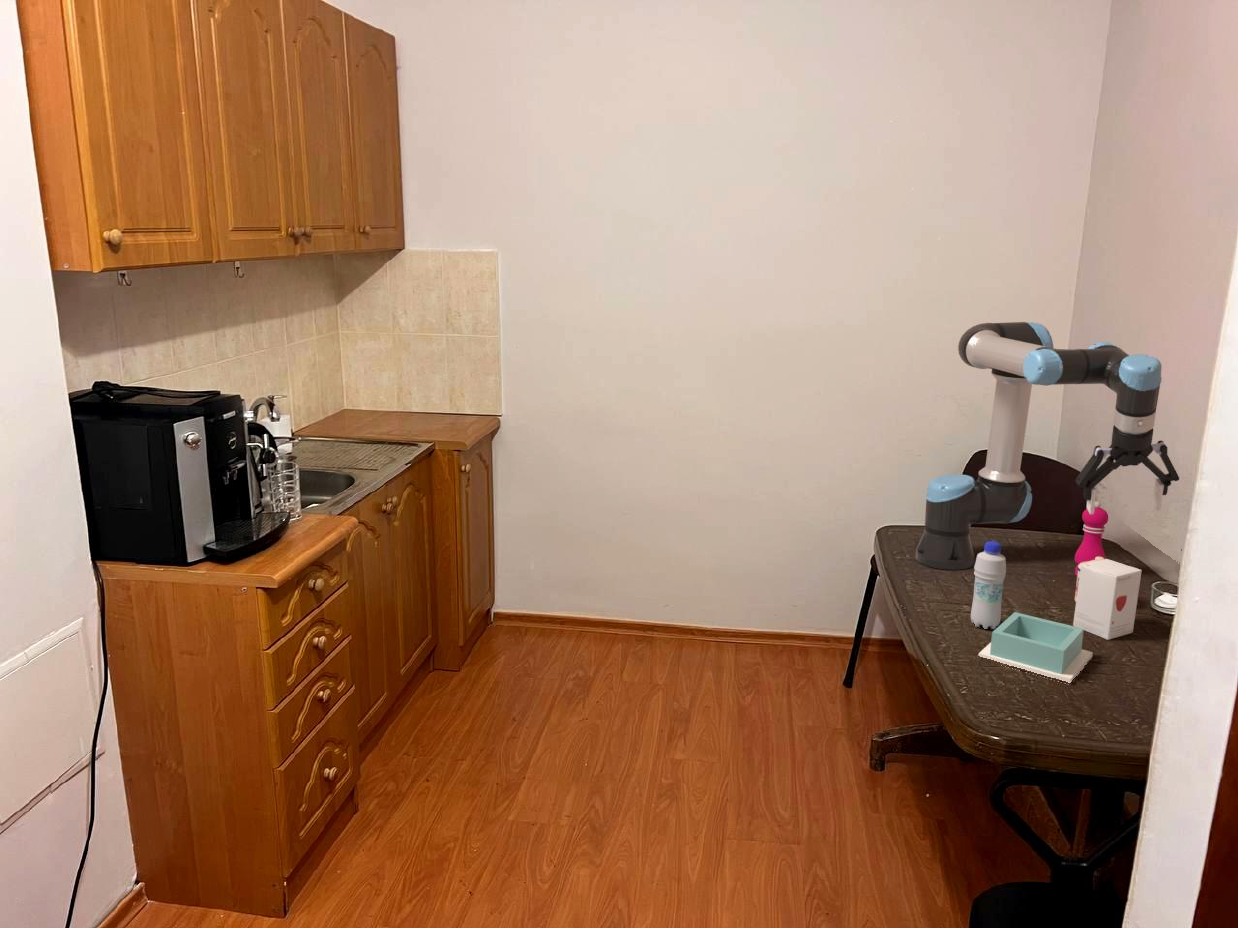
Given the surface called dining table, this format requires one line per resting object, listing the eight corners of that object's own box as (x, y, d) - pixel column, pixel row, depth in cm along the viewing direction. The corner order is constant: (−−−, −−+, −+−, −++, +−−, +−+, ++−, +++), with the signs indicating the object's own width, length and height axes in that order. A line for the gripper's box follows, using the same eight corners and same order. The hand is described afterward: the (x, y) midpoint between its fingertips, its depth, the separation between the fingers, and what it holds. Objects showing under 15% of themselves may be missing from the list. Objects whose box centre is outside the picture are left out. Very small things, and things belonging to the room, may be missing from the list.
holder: (978, 658, 193) (980, 631, 192) (1004, 634, 205) (1006, 608, 204) (1069, 684, 182) (1073, 655, 181) (1092, 657, 194) (1095, 629, 192)
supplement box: (1108, 641, 202) (1116, 576, 198) (1071, 626, 210) (1079, 563, 206) (1134, 633, 206) (1143, 569, 202) (1098, 618, 214) (1105, 557, 210)
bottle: (999, 622, 212) (1008, 538, 207) (1001, 633, 206) (1009, 548, 201) (968, 618, 214) (976, 536, 209) (969, 629, 208) (977, 545, 203)
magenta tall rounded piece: (1097, 570, 244) (1106, 498, 240) (1108, 580, 237) (1117, 505, 233) (1068, 570, 245) (1077, 497, 240) (1078, 579, 238) (1087, 505, 233)
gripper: (1075, 440, 195) (1067, 522, 206) (1205, 430, 190) (1190, 514, 201) (1065, 423, 201) (1058, 503, 212) (1191, 412, 196) (1177, 494, 207)
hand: (1122, 508), depth 206 cm, fingers open, 13 cm apart
